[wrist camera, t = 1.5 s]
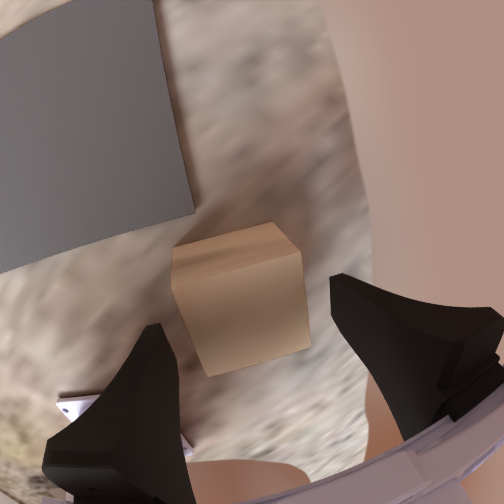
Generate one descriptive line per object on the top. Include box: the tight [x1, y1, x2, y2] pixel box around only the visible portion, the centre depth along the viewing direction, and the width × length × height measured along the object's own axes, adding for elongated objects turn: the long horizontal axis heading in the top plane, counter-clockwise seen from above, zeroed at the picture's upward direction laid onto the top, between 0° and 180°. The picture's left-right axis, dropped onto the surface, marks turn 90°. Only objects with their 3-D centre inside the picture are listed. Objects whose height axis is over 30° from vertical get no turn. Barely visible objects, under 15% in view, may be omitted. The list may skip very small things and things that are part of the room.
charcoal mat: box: [0, 0, 196, 274], centre depth 10 cm, size 12×12×1 cm
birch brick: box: [171, 222, 311, 377], centre depth 14 cm, size 5×5×4 cm
